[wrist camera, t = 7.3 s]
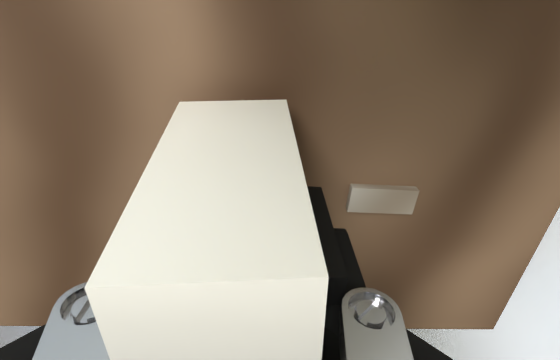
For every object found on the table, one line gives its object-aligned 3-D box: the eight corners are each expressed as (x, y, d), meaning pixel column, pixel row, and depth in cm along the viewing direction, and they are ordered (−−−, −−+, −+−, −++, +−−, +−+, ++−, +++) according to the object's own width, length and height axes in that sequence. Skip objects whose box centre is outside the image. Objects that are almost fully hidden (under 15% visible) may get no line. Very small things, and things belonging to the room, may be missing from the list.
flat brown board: (-39, 297, 17) (-68, 331, 15) (-214, -89, 10) (-301, -98, 8) (476, 304, 19) (496, 334, 18) (626, -4, 12) (681, 1, 11)
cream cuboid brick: (179, 101, 11) (84, 288, 5) (286, 99, 11) (328, 276, 5) (211, 337, 16) (186, 573, 10) (284, 333, 16) (304, 563, 10)
